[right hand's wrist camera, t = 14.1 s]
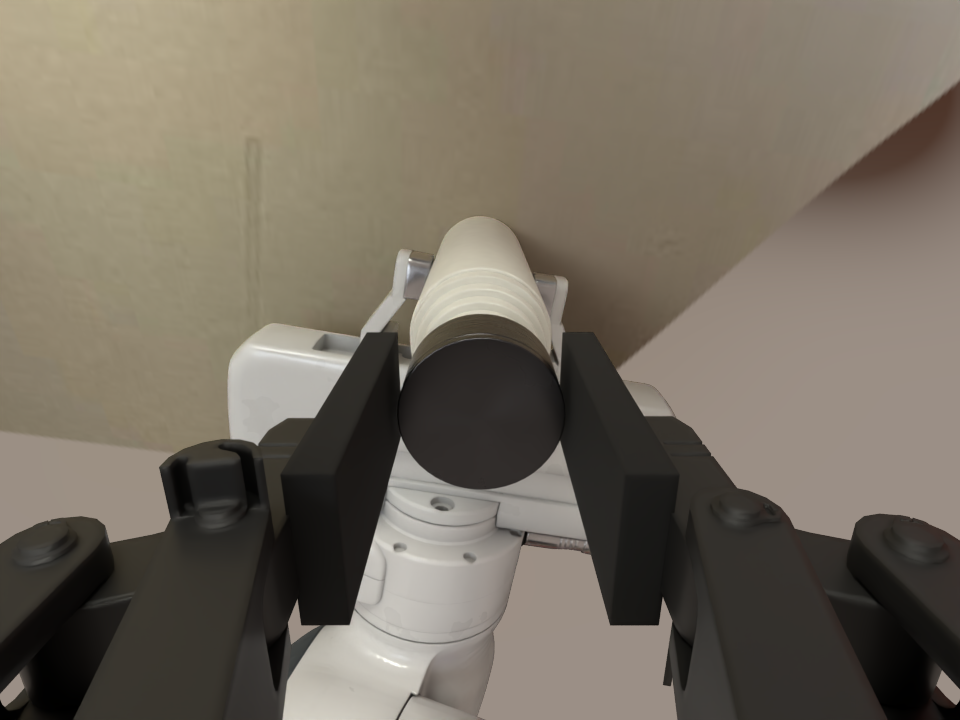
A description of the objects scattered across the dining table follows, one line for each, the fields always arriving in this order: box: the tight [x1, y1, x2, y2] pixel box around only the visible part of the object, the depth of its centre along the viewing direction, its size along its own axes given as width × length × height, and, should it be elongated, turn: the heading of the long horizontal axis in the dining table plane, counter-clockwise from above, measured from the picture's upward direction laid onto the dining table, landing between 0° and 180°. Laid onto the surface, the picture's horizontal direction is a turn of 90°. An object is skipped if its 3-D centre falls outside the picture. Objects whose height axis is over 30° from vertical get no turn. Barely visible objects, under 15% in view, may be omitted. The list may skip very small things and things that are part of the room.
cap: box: [397, 314, 565, 490], centre depth 14 cm, size 4×4×2 cm
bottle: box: [410, 216, 552, 356], centre depth 22 cm, size 4×4×19 cm
